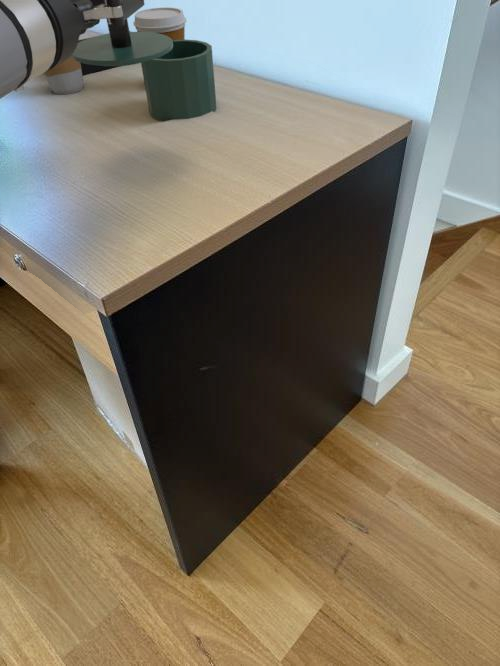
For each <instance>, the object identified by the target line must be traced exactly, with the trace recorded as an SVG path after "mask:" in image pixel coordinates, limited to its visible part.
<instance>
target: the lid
mask: <svg viewBox="0 0 500 666" xmlns="http://www.w3.org/2000/svg"><path fill="white" fill-rule="evenodd" d="M107 29H108V33H105V34H106V35H105V34H100V35H101V36H100V35H96V36H91V37H92V38H91V37H88V38H89V39H86V38H85V39H86V40H83V41H81V42H79V43H78V44H77V47H76V49H75V51H74V53H73V54H72V55H71V57H72V58H73V59H74V60H76V61H78V62H80V63H84V64H90V65H101V66H117V67H124V66H133V65H137V64H141V63H142V62H146V61H148V60H152V59H155V58H158V57H160V56H163V55H165V54H167V53H168V52H170V51H171V50H172V48H173V41H172V39H171V38H170V37H168V36H166V35H163V34H158V33H152V32H137V31H131V30H130V27H129V20H128V18H127V19H126V20H125V25H124V26H122V27H120V28H117V27H114V26H113V25H112V24H107ZM130 31H131V32H130Z"/></svg>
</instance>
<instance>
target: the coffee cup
mask: <svg viewBox="0 0 500 666" xmlns="http://www.w3.org/2000/svg"><path fill="white" fill-rule="evenodd" d="M43 74H44V76H45V77H46V80H47V83H48V85H49V88H50V90H52V92H53V94H56V95H69V94H74V93H78V92H80V91H82V90H83V89H84V84H85V82H84V78H83V76H84V75H82V71H81V63H80V62H78V61H76V60H74V59H73V58H72V57H70V58H68V59H67V60H65V61H64V62H62V63H60V64H59V65H57V66H55V67H54V68H52V69H50V70H48V71H45V72H44V73H43Z"/></svg>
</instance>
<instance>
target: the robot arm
mask: <svg viewBox="0 0 500 666" xmlns="http://www.w3.org/2000/svg"><path fill="white" fill-rule="evenodd" d="M144 6H146V5H145V0H0V100H1V99H2V98H4V97H5V96H7V95H8V94H10V93H12V92H22V91H24V90H25V84H27V83H29V82H31V81H33V80H35V79H36V78H37V77H39V76H41V75H42V74H45V73H44V72H45V71H48V70H50V69H52V68H54V67H55V66H57V65H59V64H60V63H62V62H64V61H65V60H67V59H68V58H70V57H71V55H72V54H73V53H74V51H75V49H76V47H77V44H78V40H80V36H81V35H83V34H85V33H86V31H87V30H88V29H92V28H94V27H95V26H97V25H99V24H100V22H101V20H106V24H107V25H108V24H112V25H113V26H114V27H117V28H120V27H122V26H124V25H125V20H126V19H127V20H128V19H129V18H130V17H131V16H132V15H133V14H134V15H135V14H136V13H137V12H138V11H140V9H141V8H143V7H144Z"/></svg>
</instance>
